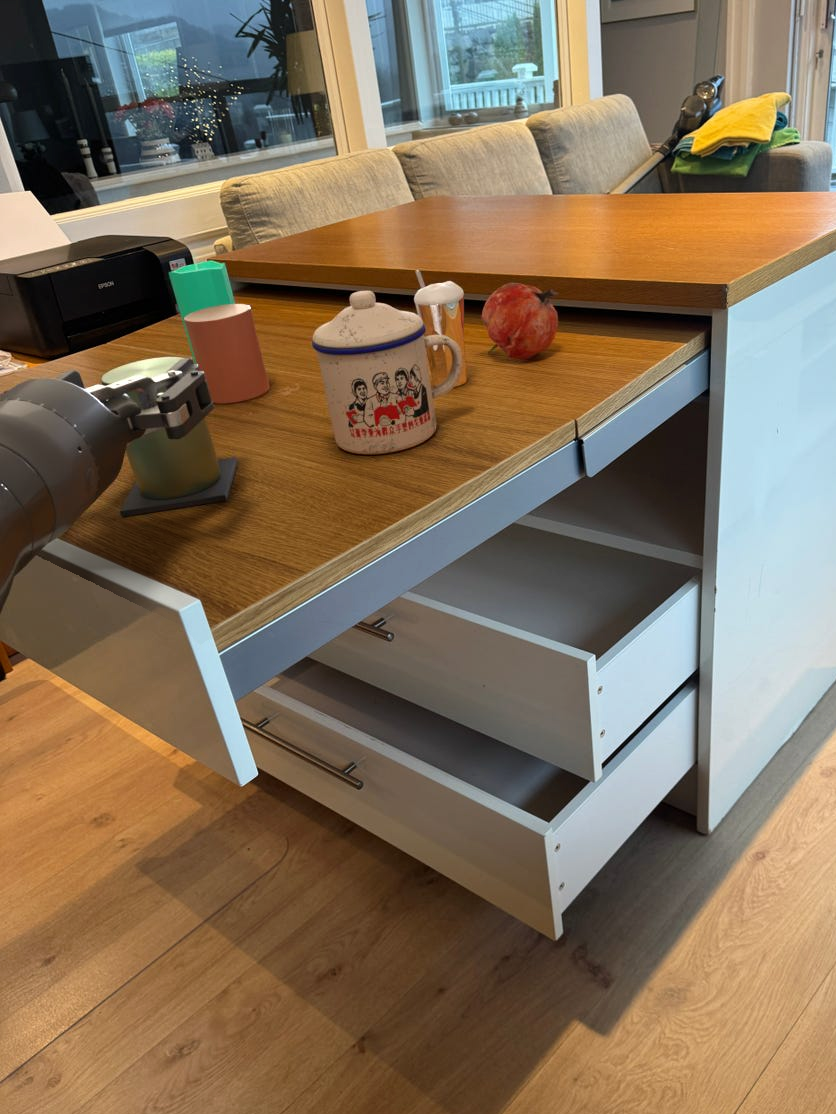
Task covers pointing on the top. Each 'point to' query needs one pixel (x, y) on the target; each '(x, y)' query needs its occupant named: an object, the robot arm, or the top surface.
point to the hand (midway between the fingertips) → (134, 378)
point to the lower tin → (228, 352)
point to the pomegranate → (520, 320)
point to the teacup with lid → (380, 376)
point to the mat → (210, 495)
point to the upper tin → (167, 445)
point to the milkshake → (442, 325)
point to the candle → (200, 288)
